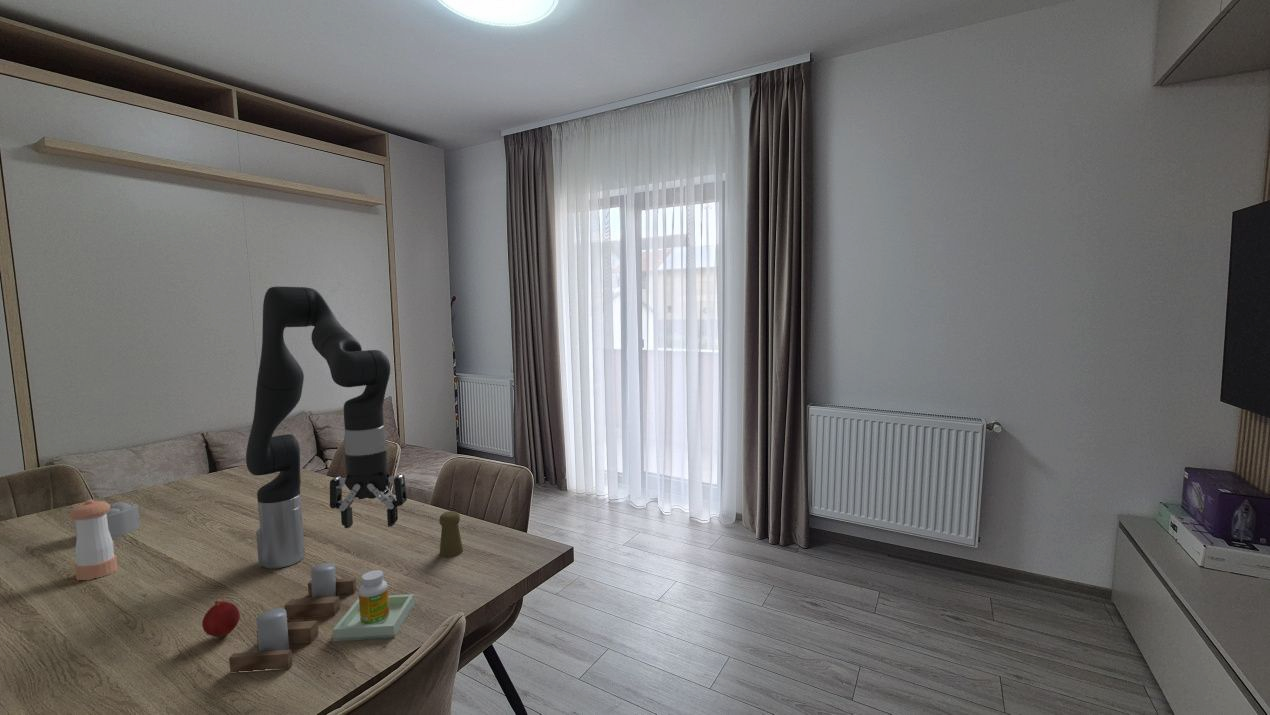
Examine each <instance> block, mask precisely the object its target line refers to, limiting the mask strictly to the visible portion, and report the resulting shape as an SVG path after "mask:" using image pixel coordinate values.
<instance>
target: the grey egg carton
mask: <svg viewBox="0 0 1270 715" xmlns="http://www.w3.org/2000/svg"><path fill="white" fill-rule="evenodd" d="M108 504H109V505H110V510H109V512H108V513H106V514H107V522H108V529H109V532H110V535H111V538H113V539H115V538H114V537H116V538H119V537H122V536H121V535H123V536H125V535H124V534H126V535H128V534H130V532H131V533H133V532H134V530H135V531H136V529H137V530H138V529H139V528H140V527H141V525H140V524H141V523H140V516H139V508H138V503H133V502H129V503H128V502H124V501H118V502H114V503H112V504H110V503H108ZM74 526H75V529H76V522H75V521H74ZM132 531H133V532H132ZM127 533H128V534H127ZM75 536H76V537H77V532H76V531H75ZM118 536H119V537H118Z"/></svg>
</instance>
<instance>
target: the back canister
mask: <svg viewBox="0 0 1270 715" xmlns="http://www.w3.org/2000/svg"><path fill="white" fill-rule="evenodd" d="M310 571H311V573H310V574H311V575H310V577H311V580H310V581H311V582H312V596H311V598H317V597H335V596H336V595H337V594H336V579H337V578H336V564H335V563H333V562H325V563H319V564H317V565H314V566H313V567H311V570H310Z"/></svg>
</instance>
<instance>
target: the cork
mask: <svg viewBox="0 0 1270 715" xmlns="http://www.w3.org/2000/svg"><path fill="white" fill-rule="evenodd" d="M460 519H461V516H460V514H459V512H457V511H454V510H450V511H446V512H444V513H442V514H440V516H439V525H440V526H441V531H440V532H441V535H440V544H439V554H438V555H439V556H440V557H442V558H445V559H446V558H454V557H455V558H456V557H458V556H459V555H461V554H462V553H463V552H464V548H463V543H462V542H463V541H462V538H461V537H462V536H461V533H460V528H459V523H460V522H461V521H460ZM457 555H458V556H457Z"/></svg>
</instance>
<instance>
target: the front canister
mask: <svg viewBox="0 0 1270 715" xmlns="http://www.w3.org/2000/svg"><path fill="white" fill-rule="evenodd" d="M255 620H256V630H257V631H256V633H257V632H258V639H257V645H258V644H259V646H258V652H262V651H278V650H290V644H289V640H288V628H287V622H288V619H287V615H286V610H285V608H273V609H270V610H267V611H264V612H262V613H260V614H259V615H258V616H257V617H256V619H255Z"/></svg>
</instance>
